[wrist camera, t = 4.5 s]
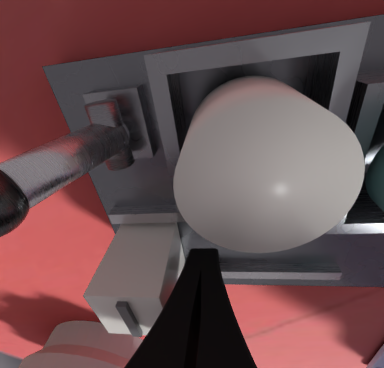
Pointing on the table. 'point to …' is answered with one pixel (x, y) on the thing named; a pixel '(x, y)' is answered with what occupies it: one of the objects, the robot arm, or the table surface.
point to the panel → (182, 116)
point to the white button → (265, 167)
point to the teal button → (376, 179)
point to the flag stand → (83, 347)
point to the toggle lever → (63, 162)
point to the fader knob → (136, 277)
